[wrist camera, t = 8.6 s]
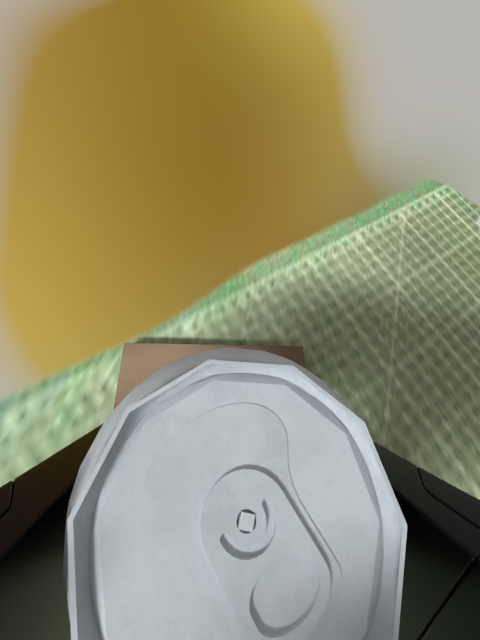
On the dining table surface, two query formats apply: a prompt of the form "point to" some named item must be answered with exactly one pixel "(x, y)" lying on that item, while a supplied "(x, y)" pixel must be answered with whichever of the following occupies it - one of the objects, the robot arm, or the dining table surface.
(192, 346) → the plate
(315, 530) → the beer can
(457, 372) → the dining table surface
